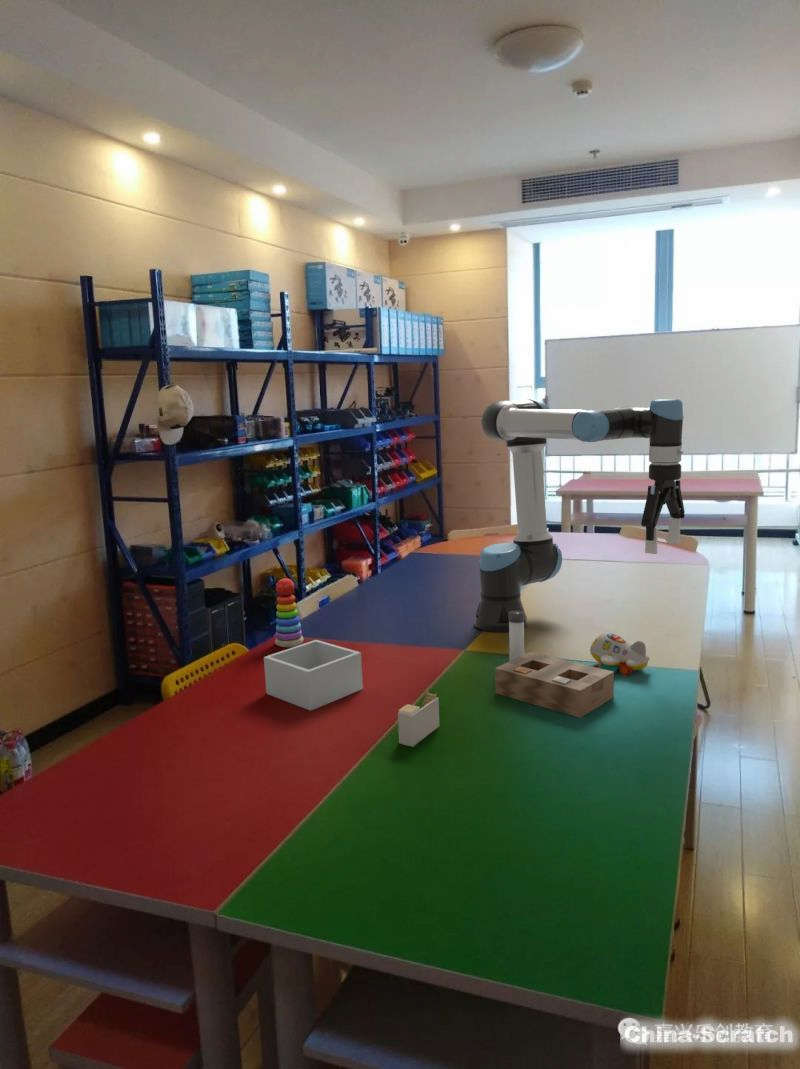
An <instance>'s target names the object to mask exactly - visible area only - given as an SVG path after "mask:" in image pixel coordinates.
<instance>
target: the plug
mask: <svg viewBox="0 0 800 1069" xmlns="http://www.w3.org/2000/svg"><path fill="white" fill-rule="evenodd" d="M508 634H509V636H508V637H509V638H508V640H509V643H508V644H509V661H512V660H514V659H516V658H518V657H520V656H522V655H525V628H524V612H523V611H510V612H509V632H508Z"/></svg>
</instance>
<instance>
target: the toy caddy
mask: <svg viewBox="0 0 800 1069" xmlns="http://www.w3.org/2000/svg"><path fill="white" fill-rule="evenodd" d="M263 662H264V664H263V666H264V677H265V678H264V680H265V692H266V694H267V695H268V696H271V697H274V698H277V699H278V700H279V699H280V700H282V701H284V702H287V703H290V704H292V705H294V706H297V707H300V708H303V709H305V710H308V711H313V710H316V709H318V708H320V707H322V706H326V705H328V704H330V703H332V702H335V701H337V700H340V699H342V698H344V697H348V696H350V695H351V694H354V693H357V692H359V691H361V690H363V689H364V684H363V668H362V667H363V666H362V652H361V651H357V650H354V649H350V648H347V647H343V646H340V645H336V644H333V643H329V642H325V641H323V640H318V639H314V640H311V641H308V642H305V643H302V644H300V645H298V646H294V647H289V648H287V649H283V650H281V651H278V652H275V653H272V654H268V655H267V656H263Z"/></svg>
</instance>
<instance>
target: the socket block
mask: <svg viewBox="0 0 800 1069" xmlns="http://www.w3.org/2000/svg"><path fill="white" fill-rule="evenodd" d="M494 677H495V678H494V680H495V681H494V682H495V685H494V686H495V694H497V695H501V696H504V697H507V698H511V699H514V700H518V701H522V702H524V703H527V704H531V705H536V706H539V707H542V708H546V709H548V710H552V711H555V712H559V713H563V714H566V715H569V716H573V717H576V718H580V719H581V718H582V717H584V716H586V715H588V714H589V713H591V712H593V711H595V710H596V709H597V708H599V707H601V706H602V705H604V704H605V703H607V702H609V701H610V700H612V699H613V698H614V696H615V694H614V693H615V691H614V688H615V681H614V680H615V673H614V672H613V671H609V670H605V669H600V668H598V667H596V666H591V665H587V664H583V663H579V662H575V661H569V660H566V659H562V658H558V657H553V656H550V655H546V654H541V653H536V652H533V651H529V652H527V653H524V655H522V656H520V657H518V658H516V659H514V660H512V661H510V660H509V661H507V662H504V663H503V664H501V665H499V666H497V667H494Z"/></svg>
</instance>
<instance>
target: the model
mask: <svg viewBox="0 0 800 1069" xmlns="http://www.w3.org/2000/svg"><path fill="white" fill-rule="evenodd" d="M437 695H438V693H437V692H436V693H434V694H433V693H429V691H427V692H426V695H425V696H424V699H423V701H422V704H421V706H418V705H415V704H414V705H412V704H409V703H407V704H405V705H404V706H402V707H401V708H399V709H398V713H397V725H398V726H397V727H398V728H397V729H398V744H401V745H403V746H408V747H412V748H414V747H415V746H416V745H417V744H418V743H420V742H421V741H422V740H424V739H425V738H426V737H427V736H429V735H431V733H433V732H434V731H435V730H437V729H438V728H439V727H440V701H439V698H440V697H437Z"/></svg>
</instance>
